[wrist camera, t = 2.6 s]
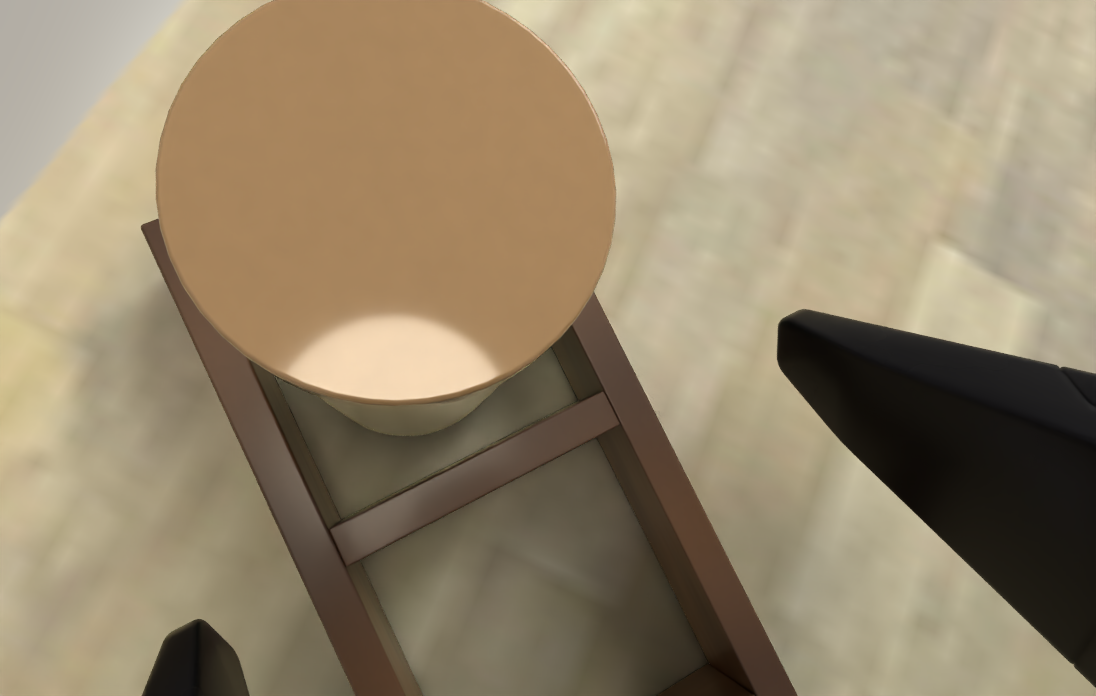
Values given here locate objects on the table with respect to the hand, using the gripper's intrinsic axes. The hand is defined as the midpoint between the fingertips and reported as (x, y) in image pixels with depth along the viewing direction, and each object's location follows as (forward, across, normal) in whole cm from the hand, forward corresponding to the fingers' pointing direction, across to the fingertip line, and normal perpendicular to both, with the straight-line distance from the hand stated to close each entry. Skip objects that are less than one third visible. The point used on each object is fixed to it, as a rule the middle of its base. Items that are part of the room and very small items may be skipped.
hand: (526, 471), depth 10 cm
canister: (+10, 0, +5) cm, 12 cm away
